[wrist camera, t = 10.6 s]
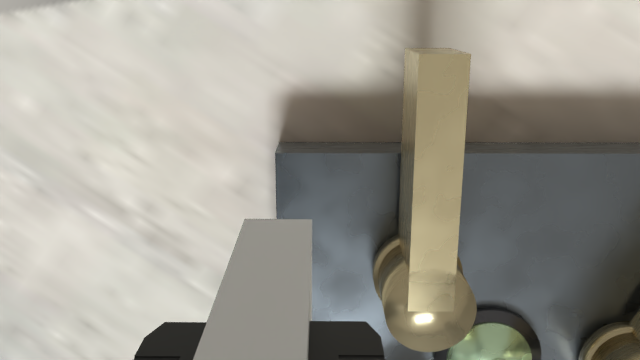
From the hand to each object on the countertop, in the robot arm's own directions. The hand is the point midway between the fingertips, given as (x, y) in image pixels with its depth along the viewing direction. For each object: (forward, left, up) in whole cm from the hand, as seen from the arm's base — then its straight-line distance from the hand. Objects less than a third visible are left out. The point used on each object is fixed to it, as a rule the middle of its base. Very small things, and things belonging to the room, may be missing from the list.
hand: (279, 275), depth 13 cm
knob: (+6, -2, -15) cm, 17 cm away
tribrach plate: (+10, -12, -18) cm, 24 cm away
